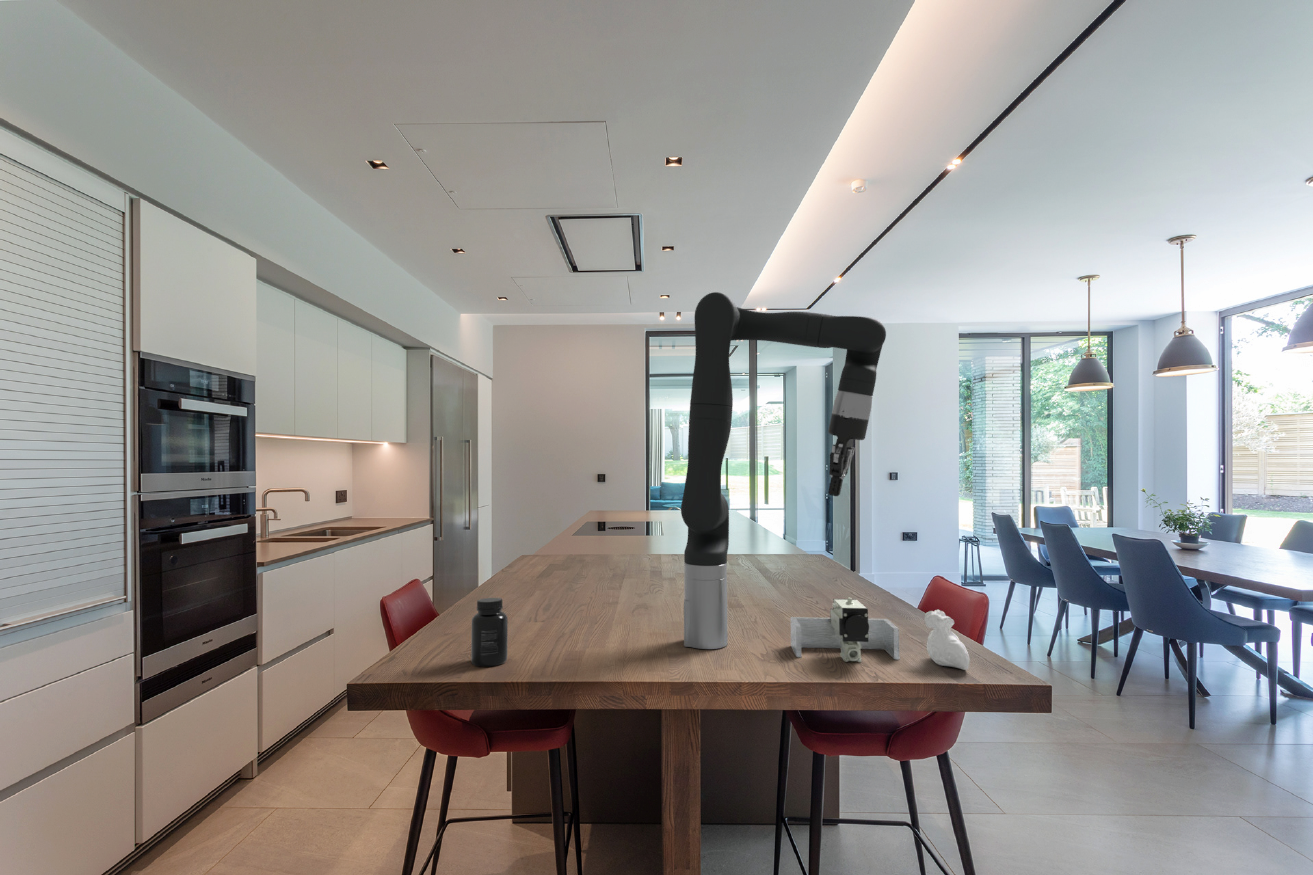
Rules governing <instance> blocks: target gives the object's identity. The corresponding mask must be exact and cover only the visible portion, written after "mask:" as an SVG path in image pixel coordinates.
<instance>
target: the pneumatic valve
mask: <svg viewBox="0 0 1313 875" xmlns="http://www.w3.org/2000/svg"><path fill="white" fill-rule="evenodd" d="M831 604H832V605H831V607H832V608H830V610H829V614H830V617H829V618H830V624H831V625H832V626H833V627H834V630H835V631H836V633H837V634H838V635H839V636H840V638H841V639H842V640H840V644H841V648H840V653H839V656H840V657H841V659H842V660H843V661H844V662H846V663H847V662H857V663H861V662H862V661H863V660H862V659H863V658H862V657H861V655H862V654H861V653H862V651H861V647H862V646H861V645H860V644H859V643H858V642H868V631H869V623H868V618H869V609H868V608H867V607H866V606H864V604H862V602H860V601H859V600H858V599H856V598H853V599H852V597H847V598H832V603H831Z"/></svg>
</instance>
